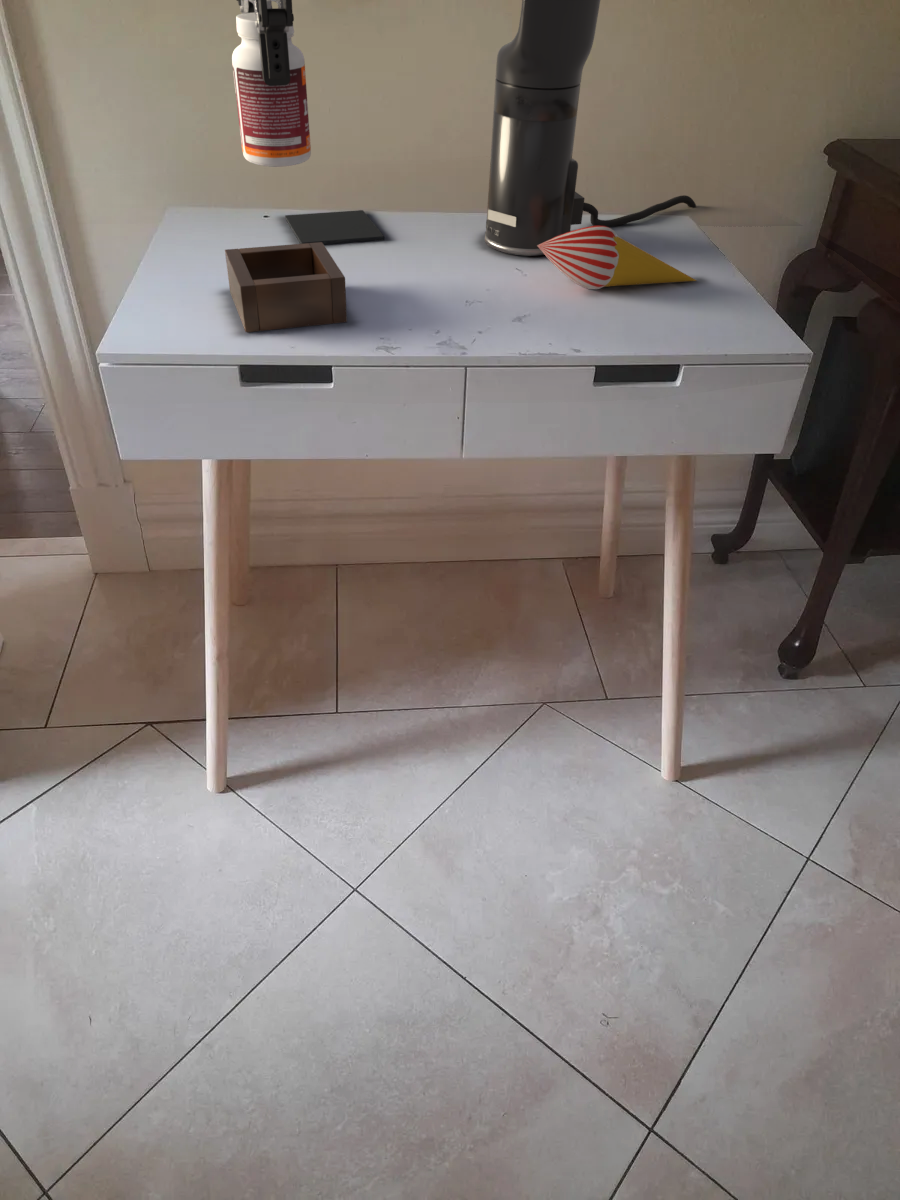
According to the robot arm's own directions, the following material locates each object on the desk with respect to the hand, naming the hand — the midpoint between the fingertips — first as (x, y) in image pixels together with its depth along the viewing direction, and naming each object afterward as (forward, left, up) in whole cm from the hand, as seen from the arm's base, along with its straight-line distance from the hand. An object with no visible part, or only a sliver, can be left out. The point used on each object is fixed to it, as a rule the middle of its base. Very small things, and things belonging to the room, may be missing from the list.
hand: (269, 75), depth 77 cm
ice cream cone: (-36, +3, -21) cm, 42 cm away
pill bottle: (0, 0, -7) cm, 7 cm away
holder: (0, 0, -21) cm, 21 cm away
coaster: (-10, -22, -21) cm, 32 cm away
